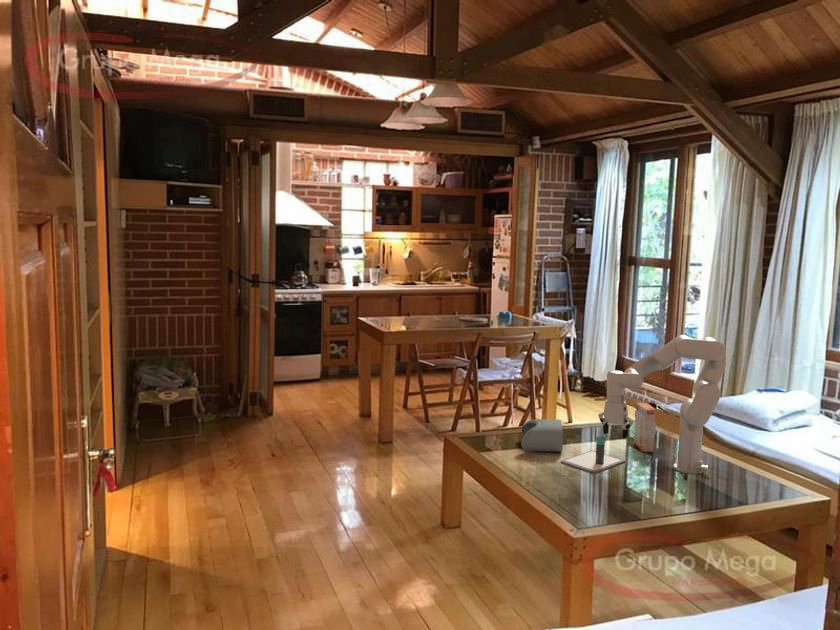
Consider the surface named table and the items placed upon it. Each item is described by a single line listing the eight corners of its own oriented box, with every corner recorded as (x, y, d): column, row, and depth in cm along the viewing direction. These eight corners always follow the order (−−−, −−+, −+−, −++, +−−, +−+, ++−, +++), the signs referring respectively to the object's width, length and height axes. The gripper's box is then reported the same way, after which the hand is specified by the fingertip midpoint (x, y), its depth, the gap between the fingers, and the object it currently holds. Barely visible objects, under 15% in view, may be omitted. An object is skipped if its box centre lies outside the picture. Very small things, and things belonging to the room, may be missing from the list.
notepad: (625, 462, 315) (625, 460, 315) (594, 473, 299) (594, 471, 299) (591, 452, 328) (591, 450, 328) (560, 462, 312) (560, 460, 312)
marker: (605, 463, 310) (606, 437, 308) (600, 465, 307) (602, 439, 306) (598, 461, 312) (599, 435, 311) (593, 462, 310) (594, 437, 308)
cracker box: (654, 452, 329) (657, 409, 327) (641, 452, 330) (644, 409, 327) (645, 443, 343) (648, 402, 341) (633, 442, 343) (635, 401, 341)
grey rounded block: (562, 456, 321) (562, 429, 319) (521, 455, 324) (521, 428, 322) (560, 441, 342) (560, 416, 341) (522, 441, 345) (521, 416, 344)
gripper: (637, 399, 305) (637, 437, 307) (603, 393, 318) (603, 430, 320) (628, 403, 300) (628, 441, 302) (594, 396, 313) (594, 433, 315)
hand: (615, 435), depth 311 cm, fingers open, 9 cm apart
